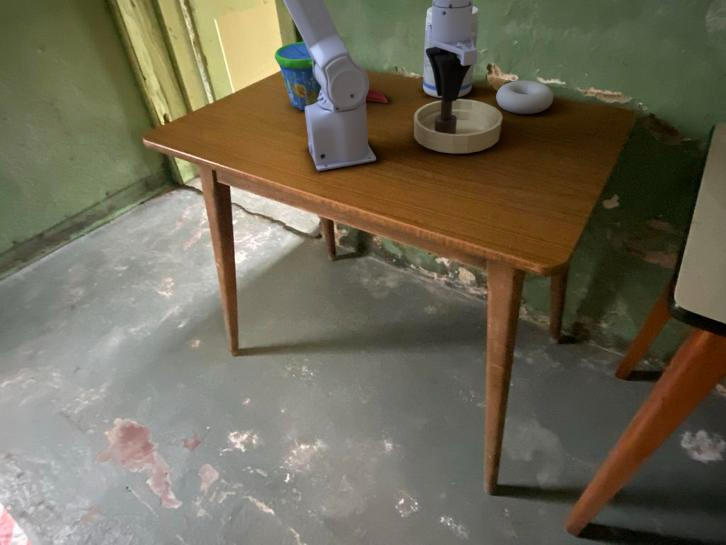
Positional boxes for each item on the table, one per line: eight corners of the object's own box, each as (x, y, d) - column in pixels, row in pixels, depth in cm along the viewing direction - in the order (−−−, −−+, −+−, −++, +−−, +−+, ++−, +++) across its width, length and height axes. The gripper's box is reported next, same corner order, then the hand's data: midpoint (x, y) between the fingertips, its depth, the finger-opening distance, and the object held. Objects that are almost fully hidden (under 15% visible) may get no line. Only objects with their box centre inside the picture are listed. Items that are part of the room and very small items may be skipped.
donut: (495, 117, 87) (554, 118, 85) (497, 98, 85) (557, 98, 83) (495, 95, 95) (549, 95, 93) (496, 77, 92) (552, 77, 90)
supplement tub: (437, 104, 93) (441, 19, 83) (414, 87, 100) (415, 7, 90) (481, 94, 95) (490, 10, 86) (456, 78, 102) (461, 0, 92)
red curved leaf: (331, 95, 99) (330, 86, 98) (346, 88, 101) (345, 79, 100) (377, 108, 93) (376, 98, 91) (392, 100, 95) (392, 90, 94)
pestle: (438, 138, 81) (442, 74, 74) (431, 129, 83) (433, 66, 76) (459, 135, 81) (464, 70, 74) (451, 126, 84) (455, 63, 77)
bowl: (431, 162, 76) (431, 141, 74) (402, 125, 87) (402, 106, 84) (515, 147, 78) (518, 126, 76) (477, 113, 89) (479, 94, 86)
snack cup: (352, 111, 92) (347, 55, 86) (300, 124, 89) (291, 67, 83) (319, 86, 103) (314, 34, 97) (272, 97, 100) (263, 44, 93)
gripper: (502, 11, 65) (490, 111, 74) (458, -11, 75) (452, 79, 84) (452, 18, 64) (446, 118, 72) (415, -5, 74) (413, 85, 83)
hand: (446, 97), depth 78 cm, fingers closed on pestle, 2 cm apart
